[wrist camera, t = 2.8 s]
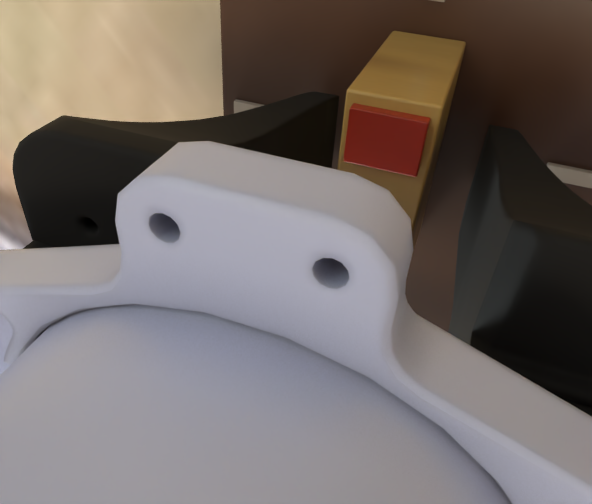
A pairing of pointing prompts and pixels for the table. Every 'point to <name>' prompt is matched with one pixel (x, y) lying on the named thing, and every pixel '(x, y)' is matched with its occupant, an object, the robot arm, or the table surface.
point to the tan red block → (401, 117)
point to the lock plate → (466, 100)
